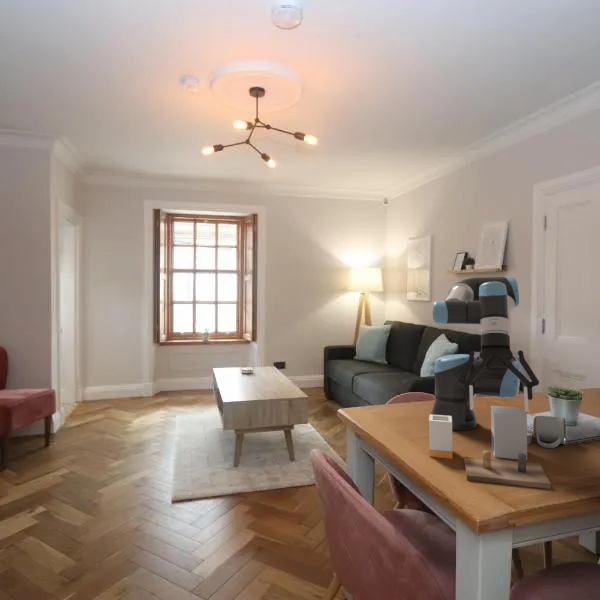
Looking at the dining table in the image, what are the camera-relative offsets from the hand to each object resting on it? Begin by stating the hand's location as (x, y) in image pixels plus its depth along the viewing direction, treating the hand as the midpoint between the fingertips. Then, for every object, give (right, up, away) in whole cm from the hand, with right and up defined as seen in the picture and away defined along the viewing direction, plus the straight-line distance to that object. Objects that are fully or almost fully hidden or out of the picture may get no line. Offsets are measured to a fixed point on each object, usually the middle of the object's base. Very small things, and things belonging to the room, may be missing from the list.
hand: (498, 411), depth 118 cm
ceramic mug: (+20, -12, +11) cm, 26 cm away
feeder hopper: (+4, -13, +4) cm, 14 cm away
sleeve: (-14, -13, +5) cm, 20 cm away
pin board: (-3, -13, -10) cm, 17 cm away
